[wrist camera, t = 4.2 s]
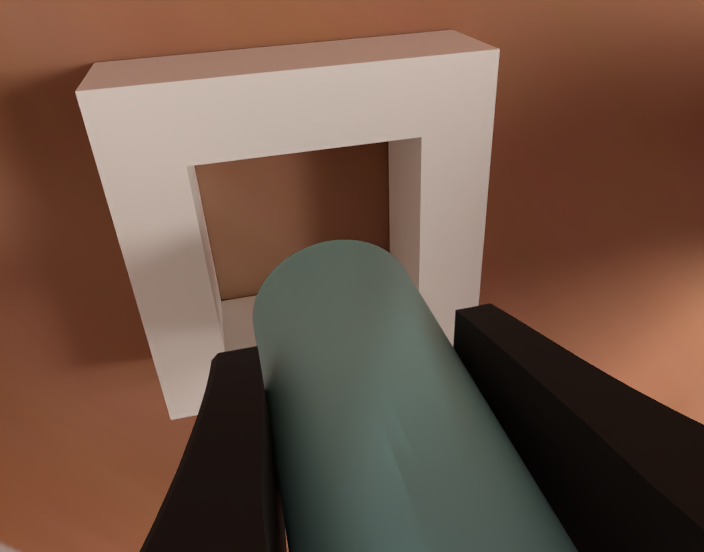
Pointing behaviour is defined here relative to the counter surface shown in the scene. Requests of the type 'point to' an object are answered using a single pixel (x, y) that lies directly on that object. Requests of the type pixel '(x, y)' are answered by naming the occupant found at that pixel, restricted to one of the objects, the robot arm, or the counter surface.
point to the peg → (384, 418)
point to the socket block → (284, 138)
